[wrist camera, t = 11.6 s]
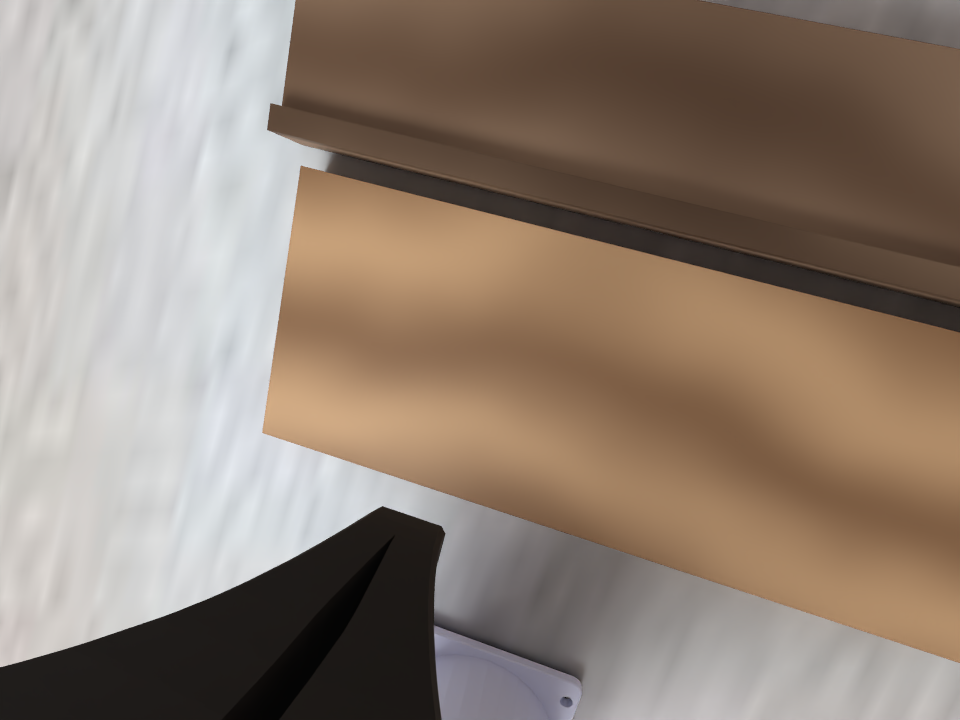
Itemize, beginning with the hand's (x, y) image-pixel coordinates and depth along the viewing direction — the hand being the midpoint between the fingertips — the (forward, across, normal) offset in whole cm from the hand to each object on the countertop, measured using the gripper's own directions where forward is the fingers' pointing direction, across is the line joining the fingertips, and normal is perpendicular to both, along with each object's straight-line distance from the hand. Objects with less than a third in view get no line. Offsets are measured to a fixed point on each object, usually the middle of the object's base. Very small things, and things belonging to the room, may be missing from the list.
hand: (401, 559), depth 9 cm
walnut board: (+9, -5, -11) cm, 15 cm away
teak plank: (+9, -5, -2) cm, 11 cm away
